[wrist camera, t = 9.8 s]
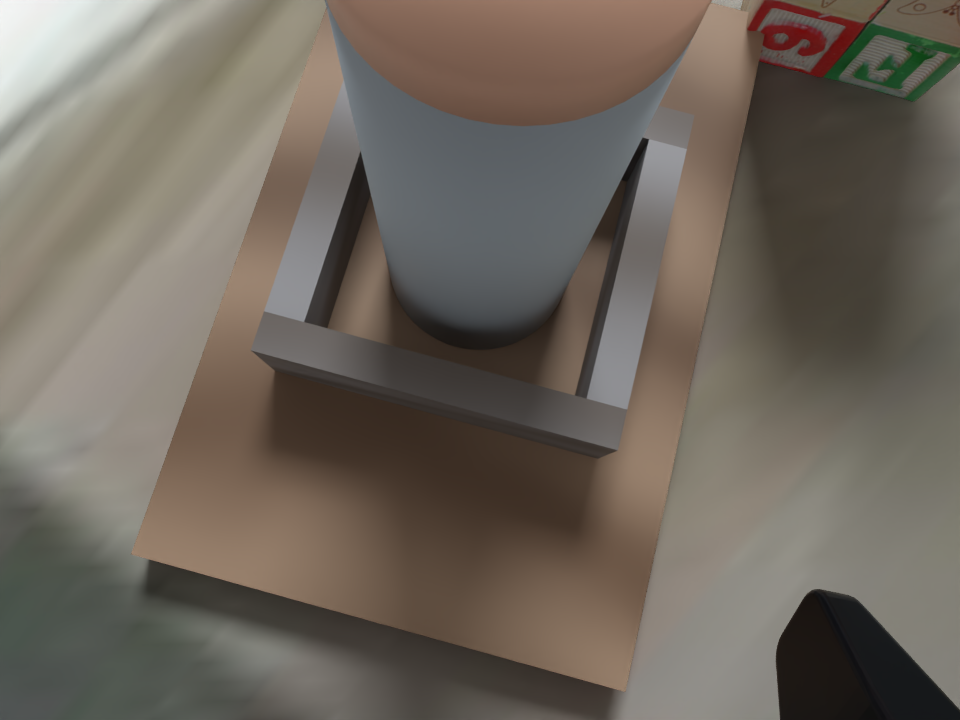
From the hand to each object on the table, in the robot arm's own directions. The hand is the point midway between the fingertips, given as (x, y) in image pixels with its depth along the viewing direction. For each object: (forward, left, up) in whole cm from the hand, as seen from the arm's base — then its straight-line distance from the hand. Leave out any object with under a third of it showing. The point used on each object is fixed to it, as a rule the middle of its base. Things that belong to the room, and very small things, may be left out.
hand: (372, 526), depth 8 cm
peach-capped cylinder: (+7, 0, -12) cm, 14 cm away
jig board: (+7, 0, -13) cm, 15 cm away
